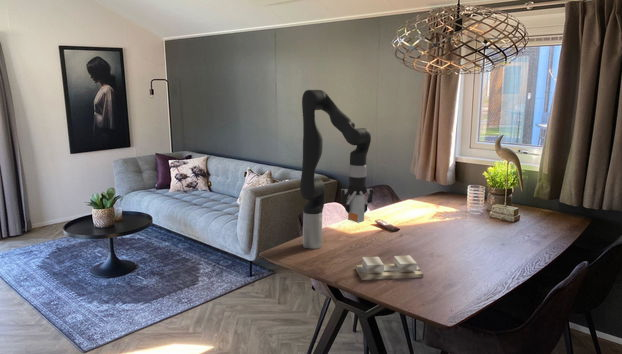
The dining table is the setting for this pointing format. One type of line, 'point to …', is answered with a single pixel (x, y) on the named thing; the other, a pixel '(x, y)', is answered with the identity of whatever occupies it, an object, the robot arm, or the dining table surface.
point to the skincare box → (356, 209)
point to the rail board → (388, 268)
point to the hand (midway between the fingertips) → (356, 212)
